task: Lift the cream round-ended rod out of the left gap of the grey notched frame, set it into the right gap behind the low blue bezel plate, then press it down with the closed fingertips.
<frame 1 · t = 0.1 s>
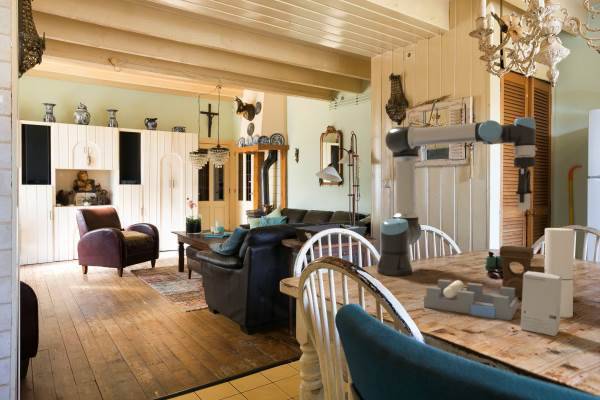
hand: (524, 210, 166), 28 cm above the table, tool pointing down, fingers open, 13 cm apart
wooden toy train: (533, 297, 141), on the table
cream round-ended rod: (453, 294, 132), point 3 cm above the table, touching grey notched frame
cylindrical container: (558, 314, 123), on the table
binoculars: (498, 278, 172), on the table
skincare box: (540, 331, 109), on the table
grey notched frame: (470, 307, 130), on the table
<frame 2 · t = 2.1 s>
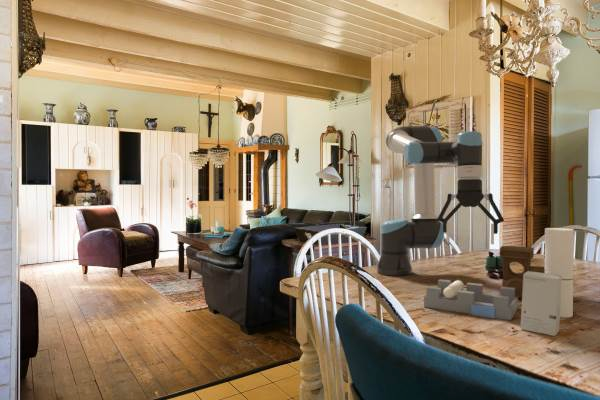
hand: (469, 243, 138), 19 cm above the table, tool pointing down, fingers open, 13 cm apart
nothing on the table moved.
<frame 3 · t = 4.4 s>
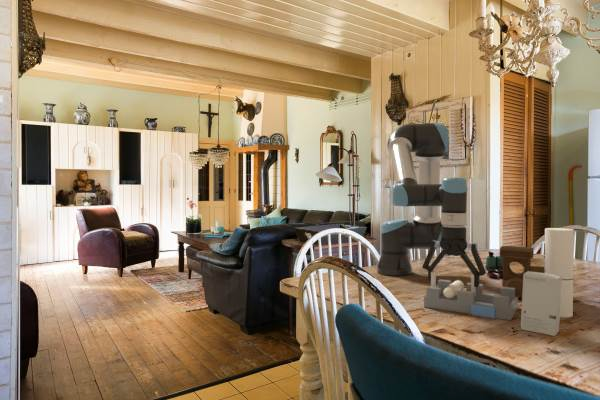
hand: (452, 294, 133), 3 cm above the table, tool pointing down, fingers open, 12 cm apart
nothing on the table moved.
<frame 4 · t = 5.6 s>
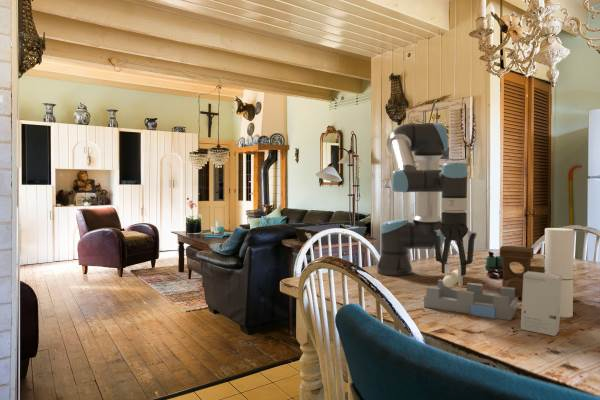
hand: (453, 284, 133), 6 cm above the table, tool pointing down, fingers closed on cream round-ended rod, 3 cm apart
cream round-ended rod: (453, 283, 133), point 7 cm above the table, touching gripper
everything else where it was.
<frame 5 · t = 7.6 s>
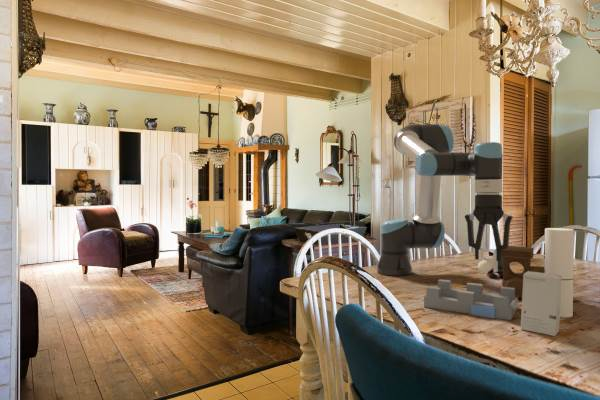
hand: (488, 270, 126), 12 cm above the table, tool pointing down, fingers closed on cream round-ended rod, 3 cm apart
cream round-ended rod: (488, 269, 126), point 12 cm above the table, touching gripper
everything else where it was.
when the fingers open (3 cm above the table, at t = 9.4 s): cream round-ended rod stays where it is, resting on grey notched frame.
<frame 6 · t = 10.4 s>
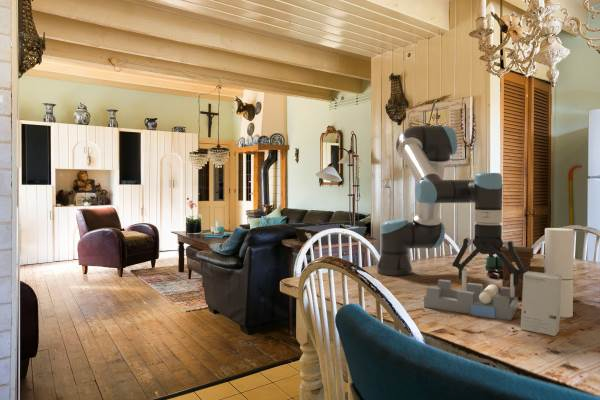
hand: (487, 293, 127), 5 cm above the table, tool pointing down, fingers open, 13 cm apart
cream round-ended rod: (488, 299, 127), point 3 cm above the table, tilted 9°, touching grey notched frame
everything else where it was.
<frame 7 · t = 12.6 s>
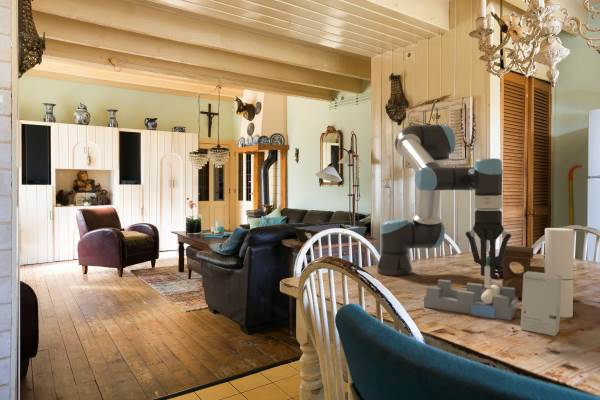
hand: (487, 286, 127), 7 cm above the table, tool pointing down, fingers closed
cream round-ended rod: (488, 298, 127), point 4 cm above the table, tilted 28°, touching grey notched frame, gripper
everything else where it was.
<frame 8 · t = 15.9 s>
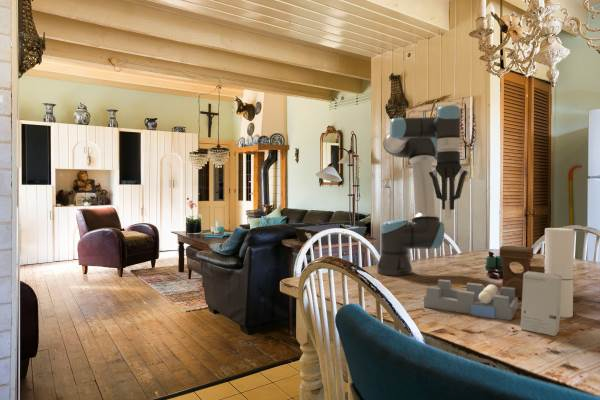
hand: (448, 219, 145), 26 cm above the table, tool pointing down, fingers closed
cream round-ended rod: (488, 299, 127), point 3 cm above the table, touching grey notched frame
everything else where it was.
at the end: cream round-ended rod 0.3 cm from the target spot on the grey notched frame, point 3.3 cm above the grey notched frame's base; the gripper is holding nothing; cream round-ended rod touching grey notched frame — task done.
